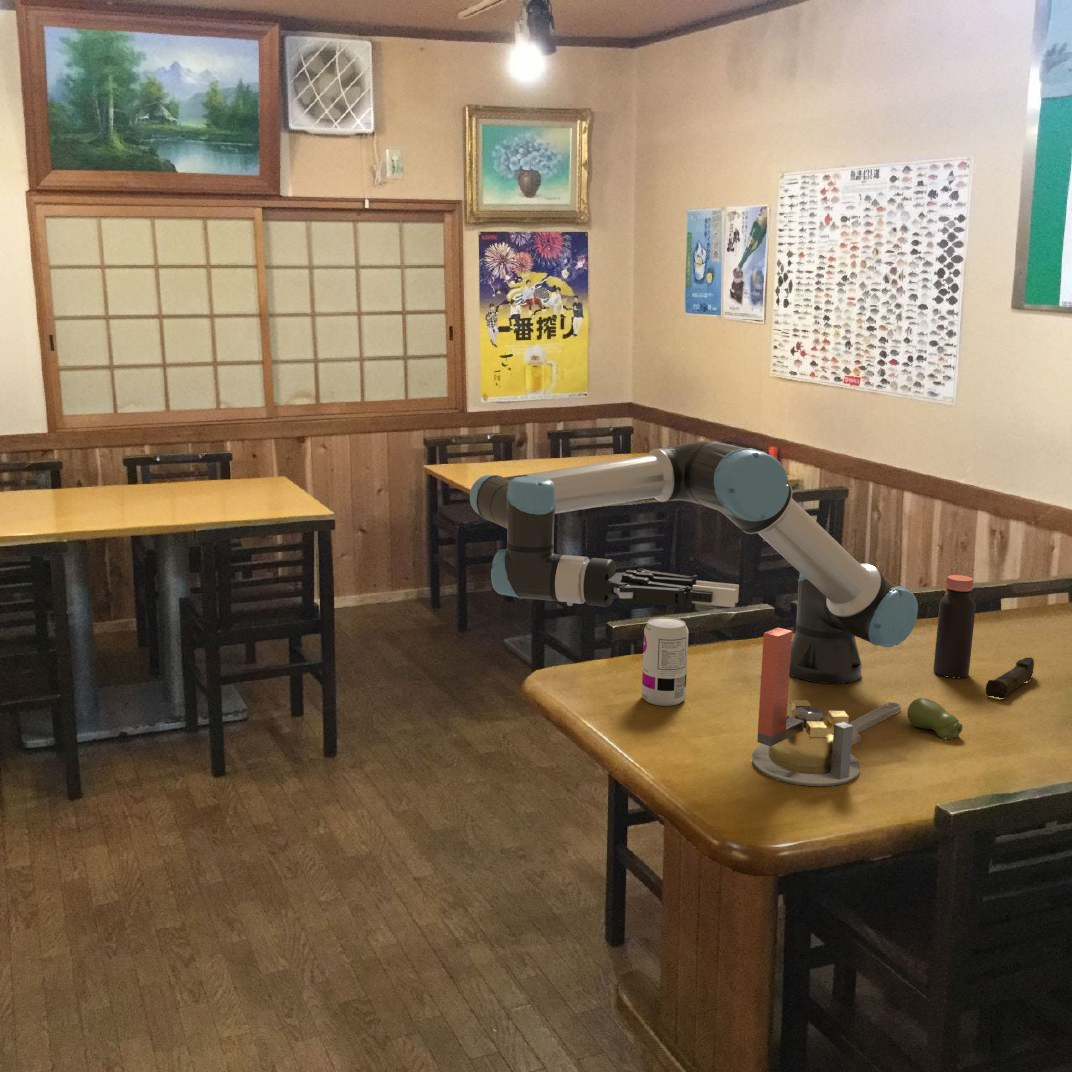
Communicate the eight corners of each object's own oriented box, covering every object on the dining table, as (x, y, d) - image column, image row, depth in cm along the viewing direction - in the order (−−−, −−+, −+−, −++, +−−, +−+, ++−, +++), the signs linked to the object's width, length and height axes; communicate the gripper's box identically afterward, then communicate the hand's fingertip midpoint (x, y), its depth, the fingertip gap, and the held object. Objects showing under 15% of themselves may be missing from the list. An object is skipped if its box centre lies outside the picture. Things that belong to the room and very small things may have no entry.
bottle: (975, 675, 237) (985, 579, 233) (954, 681, 233) (964, 583, 229) (947, 666, 242) (956, 572, 238) (926, 671, 239) (935, 576, 234)
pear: (923, 690, 211) (971, 715, 204) (916, 716, 213) (964, 742, 205) (905, 696, 207) (953, 722, 200) (898, 723, 209) (945, 749, 202)
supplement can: (634, 702, 218) (637, 624, 215) (651, 689, 225) (654, 614, 222) (675, 710, 215) (679, 631, 211) (691, 696, 222) (695, 620, 219)
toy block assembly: (793, 737, 199) (802, 603, 194) (857, 757, 191) (868, 618, 186) (729, 769, 186) (737, 626, 181) (795, 792, 178) (805, 643, 172)
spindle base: (835, 743, 200) (839, 690, 198) (876, 784, 184) (881, 727, 182) (739, 746, 198) (742, 693, 196) (771, 789, 182) (775, 731, 180)
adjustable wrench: (889, 708, 219) (890, 699, 218) (920, 718, 214) (921, 709, 214) (810, 740, 202) (811, 730, 202) (842, 752, 198) (843, 742, 197)
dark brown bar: (1004, 703, 222) (1007, 679, 221) (984, 697, 225) (986, 674, 224) (1044, 680, 235) (1047, 658, 234) (1024, 675, 238) (1027, 654, 237)
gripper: (600, 592, 194) (743, 607, 186) (573, 616, 179) (726, 633, 172) (601, 548, 192) (745, 561, 185) (574, 568, 178) (729, 583, 171)
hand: (736, 595), depth 178 cm, fingers open, 2 cm apart
